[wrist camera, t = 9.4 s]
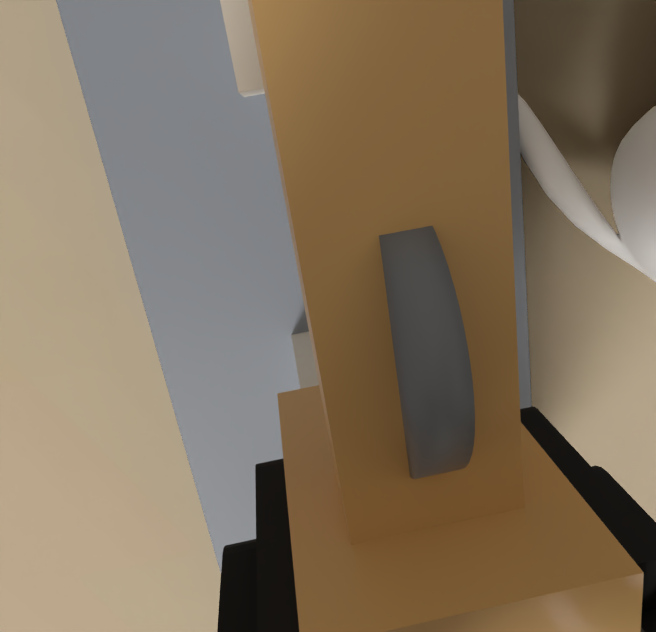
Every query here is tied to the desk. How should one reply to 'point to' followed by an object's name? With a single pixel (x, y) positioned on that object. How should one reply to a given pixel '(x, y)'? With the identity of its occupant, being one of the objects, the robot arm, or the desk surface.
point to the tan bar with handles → (416, 337)
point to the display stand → (218, 226)
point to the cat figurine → (625, 188)
